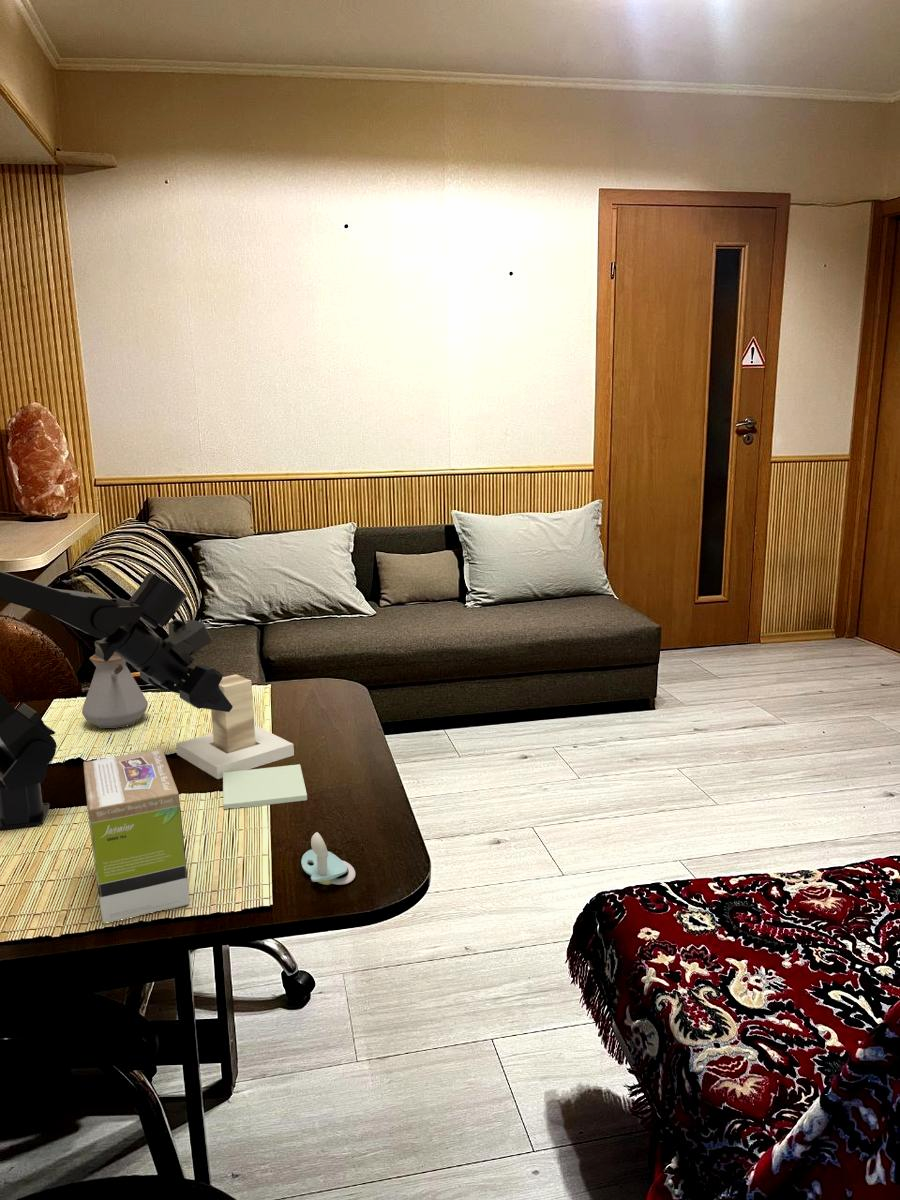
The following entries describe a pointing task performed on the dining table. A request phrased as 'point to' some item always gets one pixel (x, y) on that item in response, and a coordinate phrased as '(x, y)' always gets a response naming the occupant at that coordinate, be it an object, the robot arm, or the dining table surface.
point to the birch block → (234, 716)
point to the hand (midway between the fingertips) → (216, 702)
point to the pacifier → (325, 864)
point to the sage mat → (263, 786)
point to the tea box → (136, 835)
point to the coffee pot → (113, 695)
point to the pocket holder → (234, 753)
